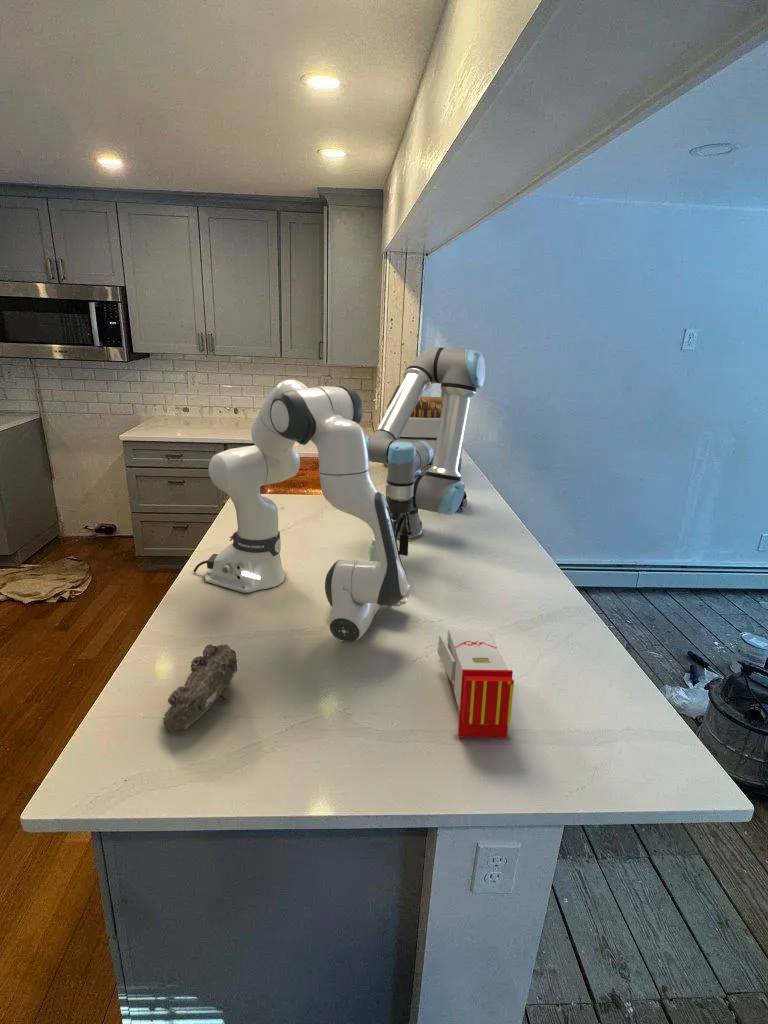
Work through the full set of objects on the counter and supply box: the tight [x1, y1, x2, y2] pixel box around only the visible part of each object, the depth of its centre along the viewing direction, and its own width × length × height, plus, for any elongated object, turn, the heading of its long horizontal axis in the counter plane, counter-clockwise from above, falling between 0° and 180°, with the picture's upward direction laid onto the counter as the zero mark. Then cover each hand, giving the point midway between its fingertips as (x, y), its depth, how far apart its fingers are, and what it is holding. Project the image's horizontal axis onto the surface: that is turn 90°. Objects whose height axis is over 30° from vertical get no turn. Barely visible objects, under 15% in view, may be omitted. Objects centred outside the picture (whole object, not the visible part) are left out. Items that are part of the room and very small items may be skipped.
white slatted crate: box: [382, 384, 464, 475], centre depth 268 cm, size 34×33×41 cm
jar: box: [369, 536, 380, 562], centre depth 152 cm, size 5×5×17 cm
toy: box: [437, 628, 515, 738], centre depth 117 cm, size 12×13×30 cm
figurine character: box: [457, 491, 468, 512], centre depth 228 cm, size 7×8×15 cm
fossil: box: [162, 643, 238, 732], centre depth 111 cm, size 22×10×15 cm
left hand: (378, 575), depth 154 cm, fingers closed on jar, 4 cm apart
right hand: (396, 563), depth 170 cm, fingers open, 13 cm apart
